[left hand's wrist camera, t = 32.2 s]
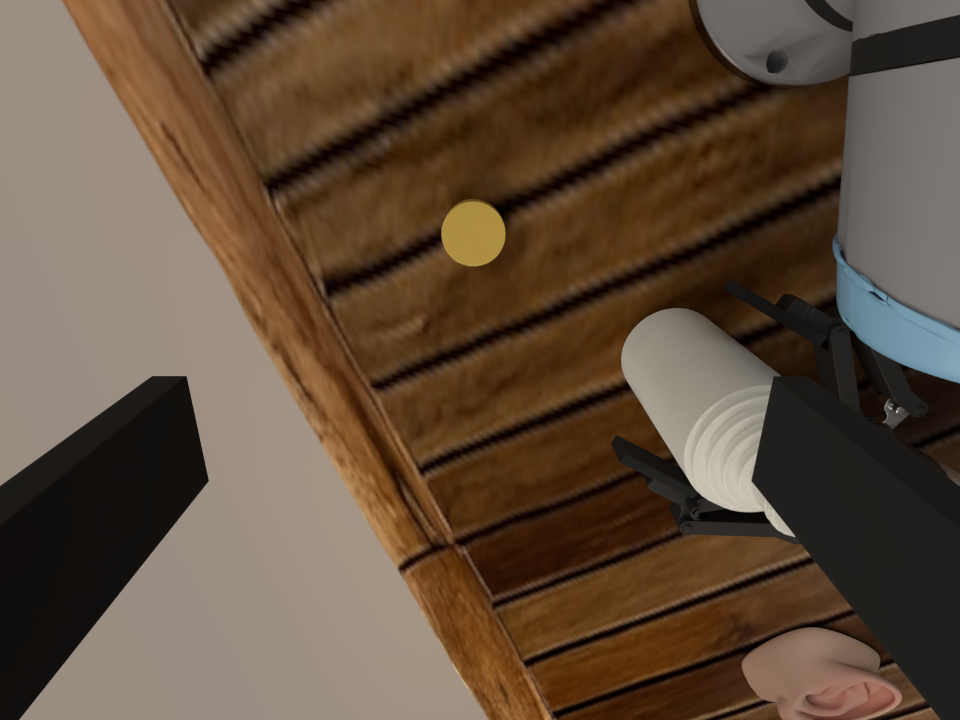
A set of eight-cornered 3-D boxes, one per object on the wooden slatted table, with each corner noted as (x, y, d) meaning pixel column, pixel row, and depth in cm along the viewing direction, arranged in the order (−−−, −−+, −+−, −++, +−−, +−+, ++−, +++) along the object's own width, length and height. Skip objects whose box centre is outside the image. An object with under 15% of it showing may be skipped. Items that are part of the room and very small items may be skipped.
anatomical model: (738, 710, 54) (828, 638, 51) (722, 674, 58) (804, 604, 55) (831, 761, 57) (921, 697, 54) (809, 723, 61) (893, 661, 57)
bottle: (601, 353, 45) (689, 505, 26) (682, 287, 43) (841, 401, 24) (659, 417, 47) (780, 601, 28) (740, 357, 45) (926, 512, 26)
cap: (499, 265, 42) (500, 270, 41) (439, 256, 42) (437, 261, 40) (509, 203, 41) (510, 206, 39) (447, 194, 40) (445, 196, 39)
